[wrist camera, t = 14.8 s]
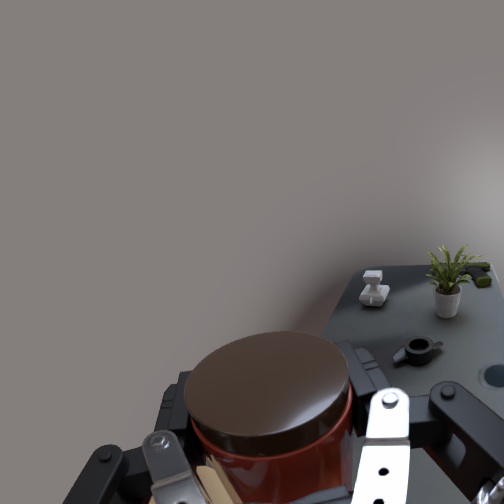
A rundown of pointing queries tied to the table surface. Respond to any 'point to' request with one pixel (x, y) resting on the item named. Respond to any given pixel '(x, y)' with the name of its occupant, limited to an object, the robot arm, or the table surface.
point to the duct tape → (416, 351)
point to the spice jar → (274, 416)
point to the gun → (473, 272)
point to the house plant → (448, 283)
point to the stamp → (373, 289)
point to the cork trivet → (210, 486)
